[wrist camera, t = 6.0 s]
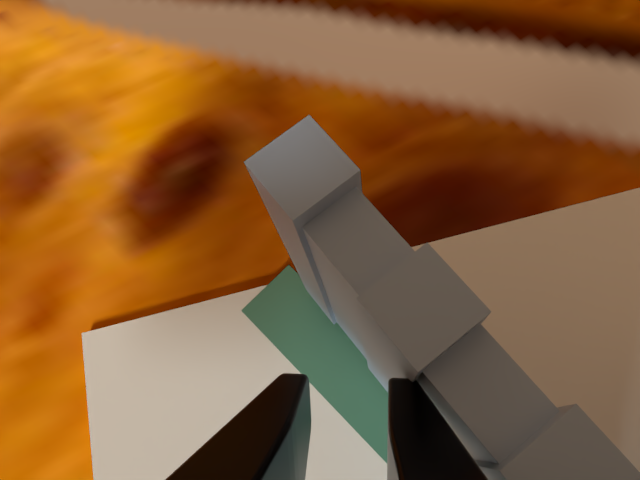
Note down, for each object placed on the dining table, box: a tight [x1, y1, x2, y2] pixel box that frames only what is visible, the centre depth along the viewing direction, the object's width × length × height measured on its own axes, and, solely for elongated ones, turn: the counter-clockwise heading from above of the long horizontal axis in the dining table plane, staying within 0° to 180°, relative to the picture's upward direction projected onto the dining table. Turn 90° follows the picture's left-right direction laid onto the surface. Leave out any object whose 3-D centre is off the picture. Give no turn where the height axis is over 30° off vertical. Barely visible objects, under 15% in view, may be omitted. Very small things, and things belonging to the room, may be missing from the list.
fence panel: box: [244, 115, 640, 480], centre depth 10 cm, size 9×1×7 cm, turn 38°
